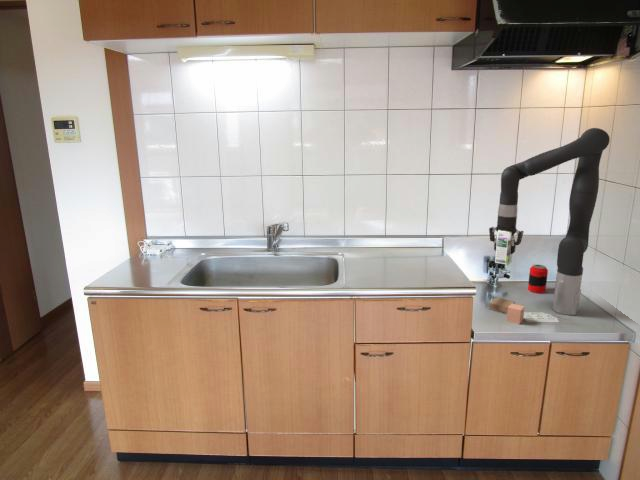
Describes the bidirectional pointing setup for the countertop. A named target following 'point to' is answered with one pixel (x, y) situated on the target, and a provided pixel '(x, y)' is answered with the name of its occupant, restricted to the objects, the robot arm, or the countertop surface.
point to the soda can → (537, 279)
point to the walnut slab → (500, 305)
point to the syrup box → (503, 247)
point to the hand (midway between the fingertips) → (504, 252)
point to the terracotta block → (515, 313)
